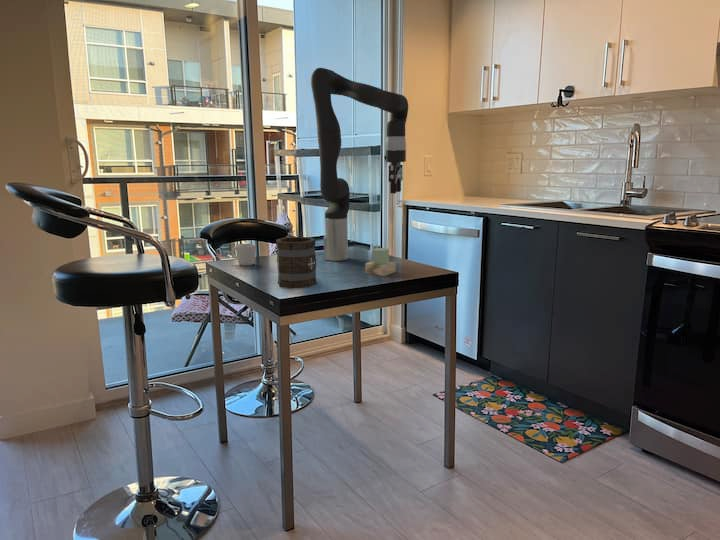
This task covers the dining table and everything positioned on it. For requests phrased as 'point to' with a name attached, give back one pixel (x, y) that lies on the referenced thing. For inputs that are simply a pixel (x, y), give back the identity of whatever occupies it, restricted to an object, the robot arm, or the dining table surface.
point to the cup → (245, 254)
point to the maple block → (380, 268)
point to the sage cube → (380, 255)
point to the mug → (296, 262)
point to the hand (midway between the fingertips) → (395, 192)
